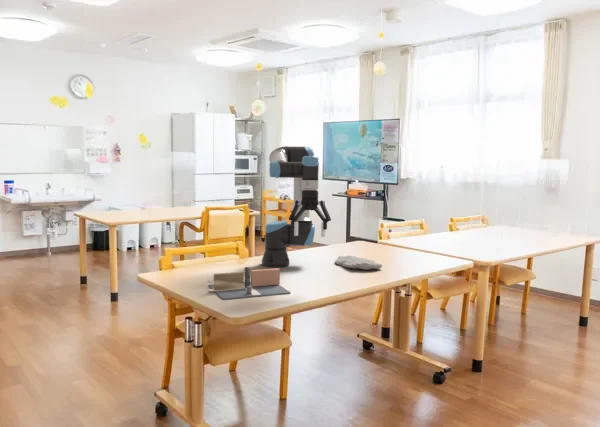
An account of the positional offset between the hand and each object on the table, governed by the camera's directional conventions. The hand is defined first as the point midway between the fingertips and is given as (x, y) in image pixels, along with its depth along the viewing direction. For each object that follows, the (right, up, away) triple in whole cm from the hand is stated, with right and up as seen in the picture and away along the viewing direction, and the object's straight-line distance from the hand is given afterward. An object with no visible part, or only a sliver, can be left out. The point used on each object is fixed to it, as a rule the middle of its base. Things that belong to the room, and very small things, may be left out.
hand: (309, 236), depth 240 cm
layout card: (-27, -23, -9) cm, 37 cm away
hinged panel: (-20, -22, -4) cm, 30 cm away
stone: (+25, -19, +44) cm, 54 cm away
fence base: (-34, -22, -10) cm, 42 cm away
